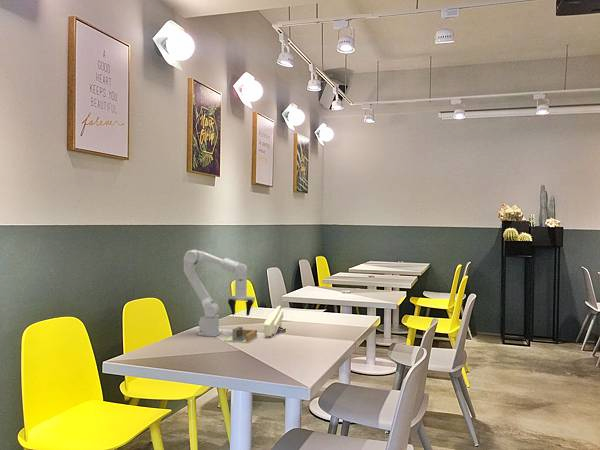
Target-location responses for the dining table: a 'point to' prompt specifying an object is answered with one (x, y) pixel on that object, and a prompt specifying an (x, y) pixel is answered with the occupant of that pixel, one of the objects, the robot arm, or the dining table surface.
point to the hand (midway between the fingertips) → (240, 314)
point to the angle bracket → (238, 334)
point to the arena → (249, 336)
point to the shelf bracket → (273, 322)
